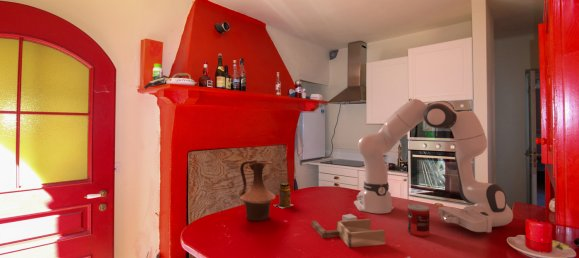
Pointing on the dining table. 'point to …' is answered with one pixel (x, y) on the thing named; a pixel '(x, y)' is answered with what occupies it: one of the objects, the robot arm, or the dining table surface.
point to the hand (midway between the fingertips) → (443, 219)
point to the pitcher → (256, 192)
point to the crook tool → (324, 233)
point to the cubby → (359, 233)
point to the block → (348, 217)
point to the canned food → (418, 220)
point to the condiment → (284, 196)
